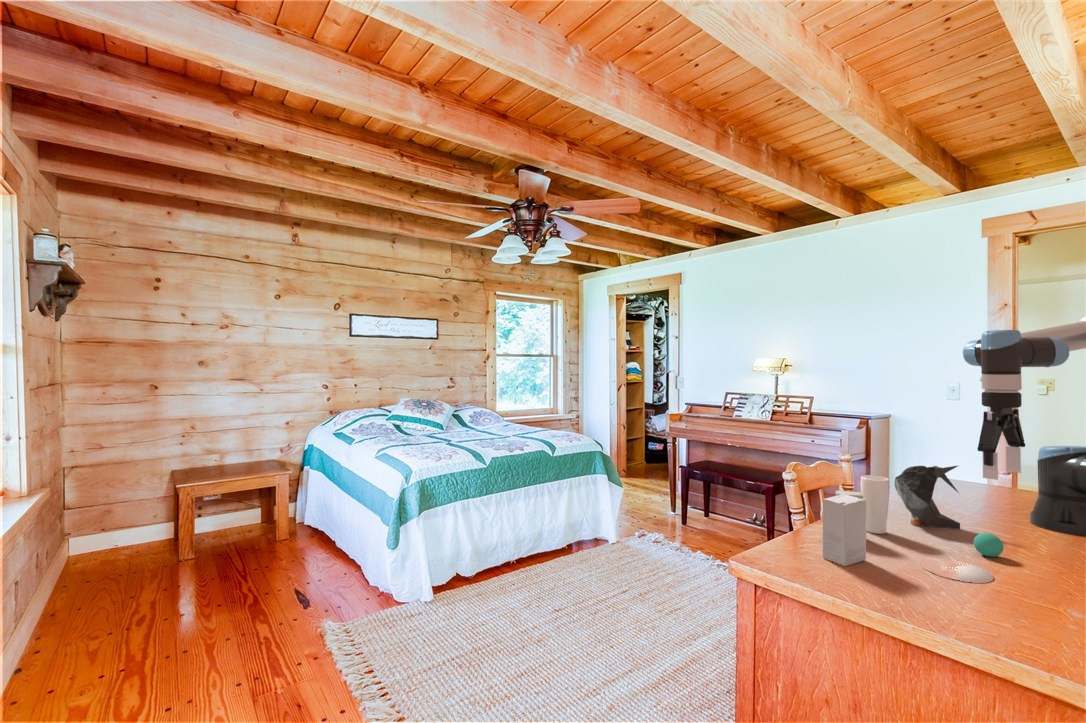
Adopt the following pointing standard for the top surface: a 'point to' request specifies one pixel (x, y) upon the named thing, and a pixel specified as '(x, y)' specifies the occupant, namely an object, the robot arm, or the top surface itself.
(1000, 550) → the ball
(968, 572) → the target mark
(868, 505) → the drinking glass
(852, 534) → the skincare box
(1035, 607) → the top surface
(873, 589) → the top surface
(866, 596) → the top surface
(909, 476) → the bird figurine
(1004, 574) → the top surface
